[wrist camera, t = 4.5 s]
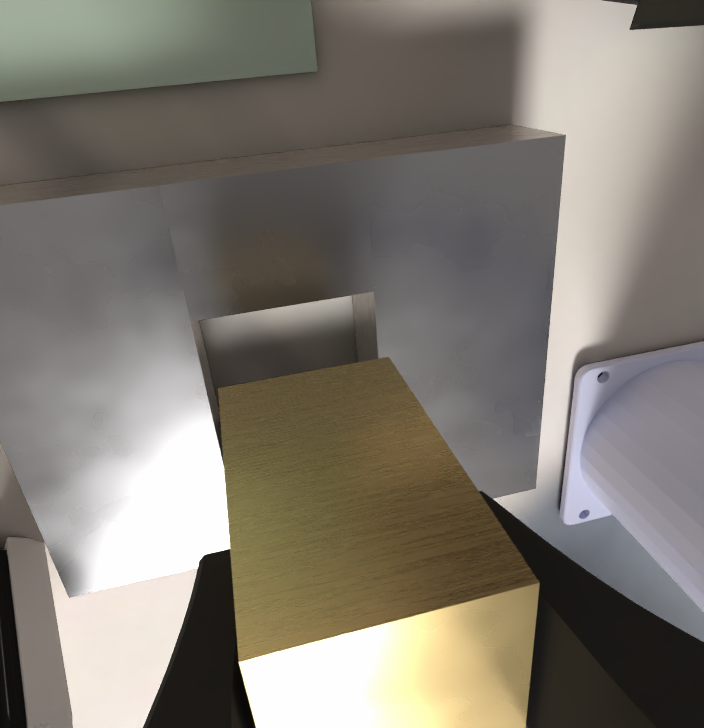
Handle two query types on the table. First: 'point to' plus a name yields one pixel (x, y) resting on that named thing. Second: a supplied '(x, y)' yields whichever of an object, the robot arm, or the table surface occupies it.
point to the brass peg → (367, 561)
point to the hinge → (30, 642)
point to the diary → (666, 13)
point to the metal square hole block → (252, 293)
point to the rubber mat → (148, 43)
